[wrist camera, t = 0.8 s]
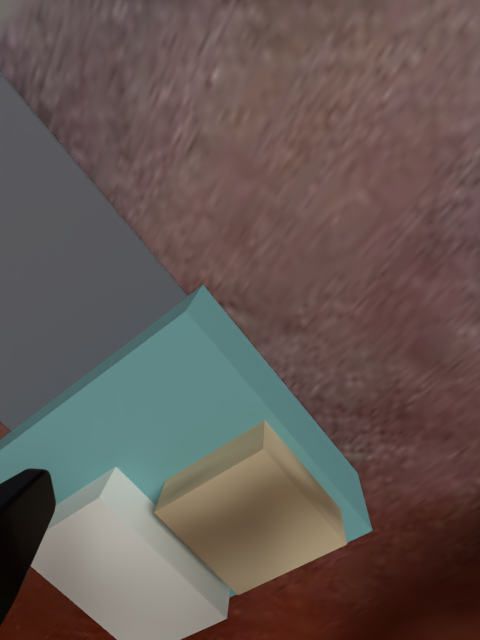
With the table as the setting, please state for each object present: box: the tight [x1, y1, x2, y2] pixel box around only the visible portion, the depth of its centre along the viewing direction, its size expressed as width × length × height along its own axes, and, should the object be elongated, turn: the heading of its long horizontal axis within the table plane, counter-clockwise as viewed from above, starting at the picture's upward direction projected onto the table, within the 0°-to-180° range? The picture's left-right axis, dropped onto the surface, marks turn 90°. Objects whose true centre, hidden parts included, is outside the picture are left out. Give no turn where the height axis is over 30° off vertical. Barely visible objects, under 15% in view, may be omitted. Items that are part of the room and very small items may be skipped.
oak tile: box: [154, 420, 347, 595], centre depth 19 cm, size 6×6×2 cm
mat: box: [0, 72, 188, 431], centre depth 21 cm, size 13×14×1 cm
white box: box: [31, 467, 230, 640], centre depth 21 cm, size 9×6×2 cm, turn 38°
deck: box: [0, 285, 372, 598], centre depth 22 cm, size 14×16×4 cm
